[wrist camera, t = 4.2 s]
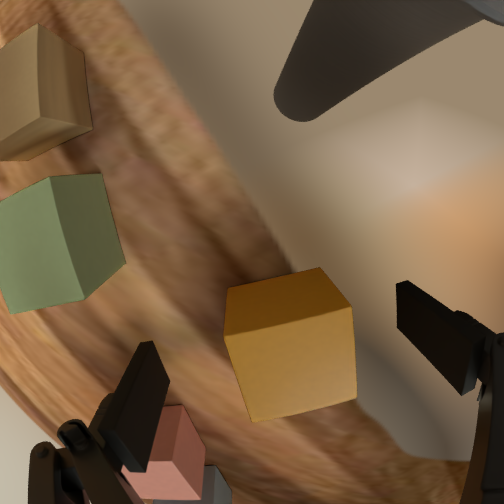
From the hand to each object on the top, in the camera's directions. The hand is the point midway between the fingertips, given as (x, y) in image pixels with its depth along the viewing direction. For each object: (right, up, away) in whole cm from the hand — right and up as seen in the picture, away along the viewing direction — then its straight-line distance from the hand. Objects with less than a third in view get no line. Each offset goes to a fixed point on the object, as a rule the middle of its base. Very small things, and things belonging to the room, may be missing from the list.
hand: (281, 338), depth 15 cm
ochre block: (0, +1, +2) cm, 2 cm away
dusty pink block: (-8, -9, +4) cm, 12 cm away
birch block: (-13, +13, -2) cm, 18 cm away
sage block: (-11, +6, 0) cm, 13 cm away
